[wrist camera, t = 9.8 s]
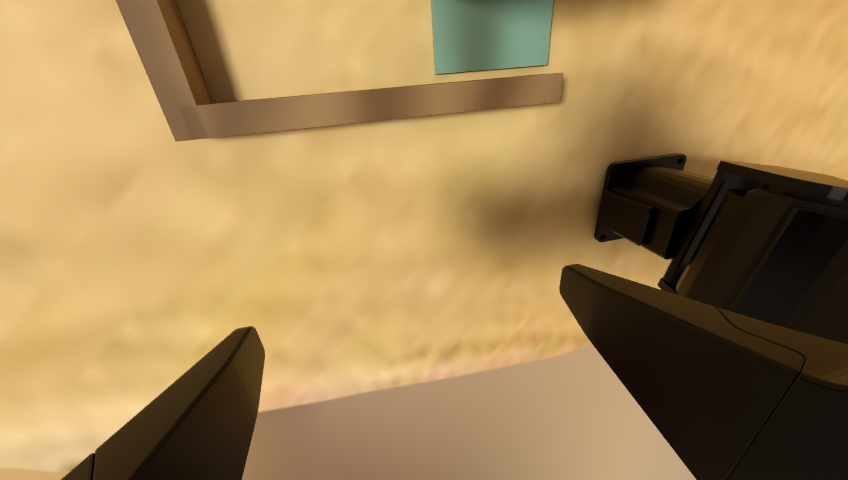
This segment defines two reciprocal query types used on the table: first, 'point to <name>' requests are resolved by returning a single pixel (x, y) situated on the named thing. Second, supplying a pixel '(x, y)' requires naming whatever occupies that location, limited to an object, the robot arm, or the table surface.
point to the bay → (453, 52)
